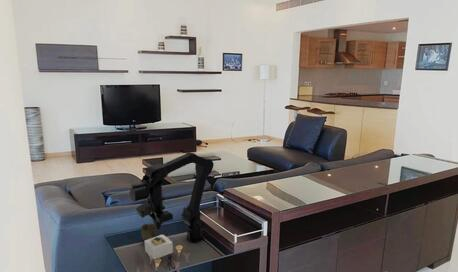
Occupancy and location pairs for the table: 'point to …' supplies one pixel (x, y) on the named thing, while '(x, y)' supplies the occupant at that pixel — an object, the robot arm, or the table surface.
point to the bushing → (158, 241)
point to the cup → (148, 231)
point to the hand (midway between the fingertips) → (157, 229)
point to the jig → (158, 247)
